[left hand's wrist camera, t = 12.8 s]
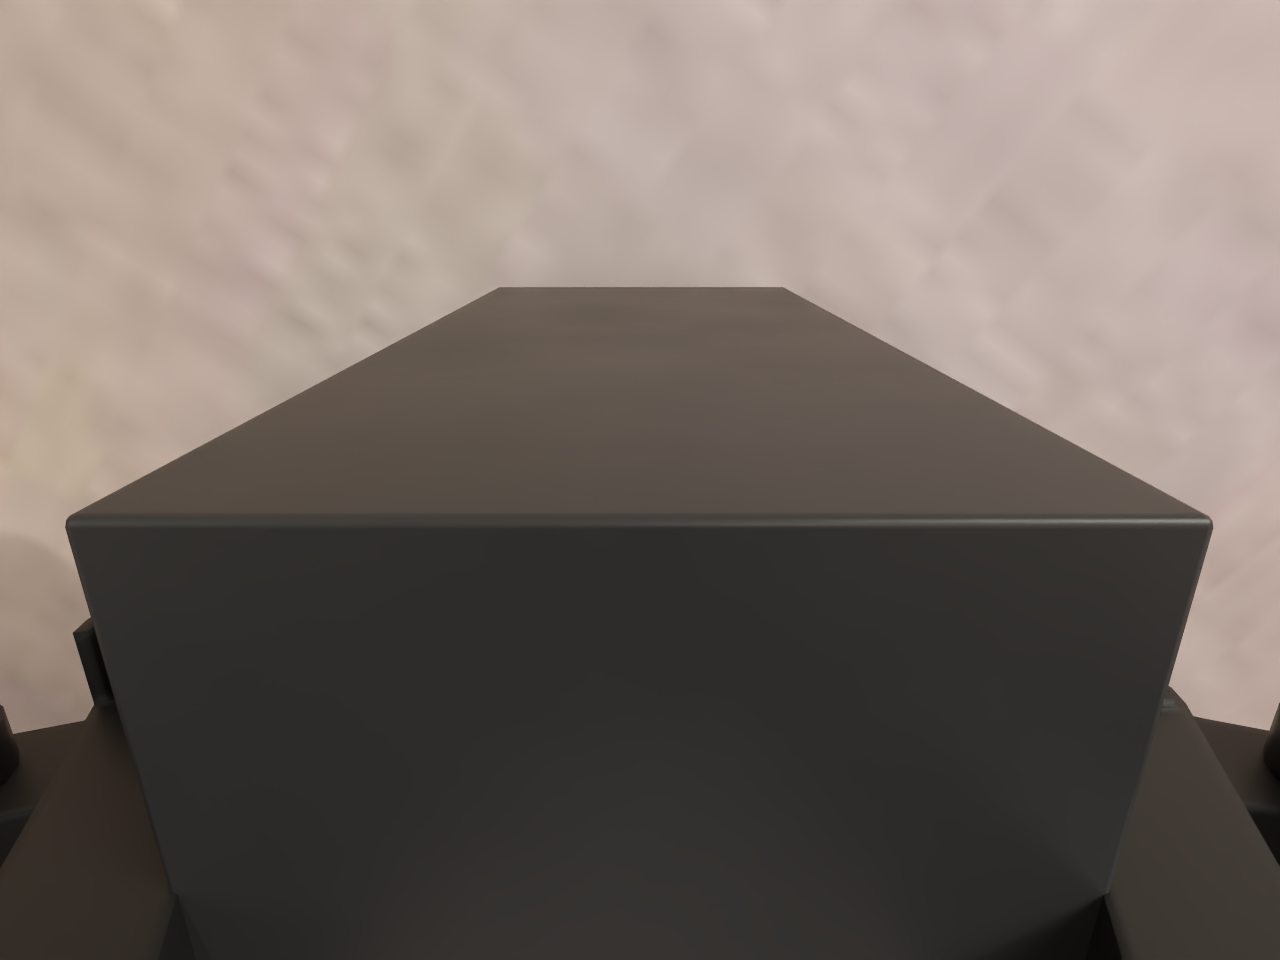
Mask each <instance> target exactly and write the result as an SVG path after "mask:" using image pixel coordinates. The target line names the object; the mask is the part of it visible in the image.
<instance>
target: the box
mask: <svg viewBox="0 0 1280 960" xmlns="http://www.w3.org/2000/svg"><path fill="white" fill-rule="evenodd" d="M65 528H66V532H67V535H68V538H69V542H70V545H71V549H72V552H73V556H74V559H75V563H76V566H77V570H78V573H79V577H80V580H81V584H82V587H83V591H84V594H85V598H86V601H87V605H88V608H89V612H90V615H91V619H92V622H93V626H94V629H95V633H96V636H97V639H98V643H99V646H100V650H101V653H102V657H103V660H104V664H105V667H106V671H107V674H108V678H109V681H110V685H111V688H112V692H113V695H114V699H115V702H116V706H117V709H118V713H119V716H120V720H121V723H122V727H123V730H124V733H125V737H126V740H127V744H128V747H129V751H130V754H131V758H132V761H133V765H134V768H135V772H136V775H137V779H138V782H139V786H140V789H141V793H142V796H143V800H144V803H145V807H146V810H147V814H148V817H149V821H150V824H151V827H152V831H153V834H154V838H155V841H156V845H157V848H158V852H159V855H160V859H161V862H162V866H163V869H164V873H165V876H166V880H167V883H168V887H169V890H170V892H172V893H175V894H178V897H179V901H180V904H181V908H182V911H183V915H184V919H185V922H186V926H187V929H188V933H189V936H190V940H191V943H192V947H193V950H194V954H195V957H196V960H1085V958H1086V954H1087V951H1088V947H1089V944H1090V940H1091V937H1092V933H1093V930H1094V926H1095V923H1096V919H1097V916H1098V912H1099V909H1100V905H1101V902H1102V898H1103V895H1105V894H1107V893H1109V892H1110V888H1111V884H1112V881H1113V877H1114V874H1115V870H1116V867H1117V863H1118V860H1119V856H1120V853H1121V849H1122V846H1123V842H1124V839H1125V835H1126V832H1127V828H1128V825H1129V821H1130V818H1131V814H1132V811H1133V807H1134V804H1135V800H1136V797H1137V793H1138V790H1139V786H1140V783H1141V779H1142V776H1143V772H1144V769H1145V765H1146V762H1147V758H1148V755H1149V751H1150V748H1151V744H1152V741H1153V737H1154V734H1155V730H1156V727H1157V723H1158V720H1159V716H1160V713H1161V709H1162V706H1163V702H1164V699H1165V695H1166V692H1167V688H1168V685H1169V681H1170V678H1171V674H1172V671H1173V667H1174V664H1175V660H1176V657H1177V653H1178V650H1179V646H1180V643H1181V639H1182V636H1183V632H1184V629H1185V625H1186V622H1187V618H1188V615H1189V611H1190V608H1191V604H1192V601H1193V597H1194V594H1195V590H1196V587H1197V583H1198V579H1199V576H1200V572H1201V569H1202V565H1203V562H1204V558H1205V555H1206V551H1207V548H1208V544H1209V541H1210V537H1211V534H1212V530H1213V523H1212V520H1211V519H1210V517H1209V516H1207V515H1205V514H1203V513H1202V512H1200V511H1198V510H1196V509H1194V508H1192V507H1190V506H1189V505H1187V504H1185V503H1183V502H1181V501H1179V500H1177V499H1176V498H1174V497H1172V496H1170V495H1168V494H1166V493H1164V492H1163V491H1161V490H1159V489H1157V488H1155V487H1153V486H1151V485H1149V484H1148V483H1146V482H1144V481H1142V480H1140V479H1138V478H1136V477H1135V476H1133V475H1131V474H1129V473H1127V472H1125V471H1123V470H1122V469H1120V468H1118V467H1116V466H1114V465H1112V464H1110V463H1109V462H1107V461H1105V460H1103V459H1101V458H1099V457H1097V456H1096V455H1094V454H1092V453H1090V452H1088V451H1086V450H1084V449H1083V448H1081V447H1079V446H1077V445H1075V444H1073V443H1071V442H1070V441H1068V440H1066V439H1064V438H1062V437H1060V436H1058V435H1057V434H1055V433H1053V432H1051V431H1049V430H1047V429H1045V428H1044V427H1042V426H1040V425H1038V424H1036V423H1034V422H1032V421H1031V420H1029V419H1027V418H1025V417H1023V416H1021V415H1019V414H1018V413H1016V412H1014V411H1012V410H1010V409H1008V408H1006V407H1005V406H1003V405H1001V404H999V403H997V402H995V401H993V400H992V399H990V398H988V397H986V396H984V395H982V394H980V393H978V392H977V391H975V390H973V389H971V388H969V387H967V386H965V385H964V384H962V383H960V382H958V381H956V380H954V379H952V378H951V377H949V376H947V375H945V374H943V373H941V372H939V371H938V370H936V369H934V368H932V367H930V366H928V365H926V364H925V363H923V362H921V361H919V360H917V359H915V358H913V357H912V356H910V355H908V354H906V353H904V352H902V351H900V350H899V349H897V348H895V347H893V346H891V345H889V344H887V343H886V342H884V341H882V340H880V339H878V338H876V337H874V336H873V335H871V334H869V333H867V332H865V331H863V330H861V329H860V328H858V327H856V326H854V325H852V324H850V323H848V322H847V321H845V320H843V319H841V318H839V317H837V316H835V315H834V314H832V313H830V312H828V311H826V310H824V309H822V308H820V307H819V306H817V305H815V304H813V303H811V302H809V301H807V300H806V299H804V298H802V297H800V296H798V295H796V294H794V293H793V292H791V291H789V290H787V289H785V288H783V287H500V288H497V289H496V290H494V291H492V292H490V293H488V294H486V295H484V296H482V297H480V298H479V299H477V300H475V301H473V302H471V303H469V304H467V305H465V306H464V307H462V308H460V309H458V310H456V311H454V312H452V313H450V314H448V315H447V316H445V317H443V318H441V319H439V320H437V321H435V322H433V323H432V324H430V325H428V326H426V327H424V328H422V329H420V330H418V331H417V332H415V333H413V334H411V335H409V336H407V337H405V338H403V339H401V340H400V341H398V342H396V343H394V344H392V345H390V346H388V347H386V348H385V349H383V350H381V351H379V352H377V353H375V354H373V355H371V356H369V357H368V358H366V359H364V360H362V361H360V362H358V363H356V364H354V365H353V366H351V367H349V368H347V369H345V370H343V371H341V372H339V373H337V374H336V375H334V376H332V377H330V378H328V379H326V380H324V381H322V382H321V383H319V384H317V385H315V386H313V387H311V388H309V389H307V390H306V391H304V392H302V393H300V394H298V395H296V396H294V397H292V398H290V399H289V400H287V401H285V402H283V403H281V404H279V405H277V406H275V407H274V408H272V409H270V410H268V411H266V412H264V413H262V414H260V415H258V416H257V417H255V418H253V419H251V420H249V421H247V422H245V423H243V424H242V425H240V426H238V427H236V428H234V429H232V430H230V431H228V432H226V433H225V434H223V435H221V436H219V437H217V438H215V439H213V440H211V441H210V442H208V443H206V444H204V445H202V446H200V447H198V448H196V449H195V450H193V451H191V452H189V453H187V454H185V455H183V456H181V457H179V458H178V459H176V460H174V461H172V462H170V463H168V464H166V465H164V466H163V467H161V468H159V469H157V470H155V471H153V472H151V473H149V474H147V475H146V476H144V477H142V478H140V479H138V480H136V481H134V482H132V483H131V484H129V485H127V486H125V487H123V488H121V489H119V490H117V491H115V492H114V493H112V494H110V495H108V496H106V497H104V498H102V499H100V500H99V501H97V502H95V503H93V504H91V505H89V506H87V507H85V508H84V509H82V510H80V511H78V512H76V513H74V514H72V515H70V516H69V517H68V519H67V520H66V527H65Z"/></svg>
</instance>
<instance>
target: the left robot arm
mask: <svg viewBox="0 0 1280 960" xmlns="http://www.w3.org/2000/svg"><path fill="white" fill-rule="evenodd" d="M73 635H74V638H75V642H76V645H77V648H78V652H79V655H80V658H81V662H82V665H83V668H84V671H85V675H86V678H87V681H88V685H89V688H90V691H91V694H92V698H93V701H94V704H95V705H94V706H93V708H92V710H91V711H90V713H89V715H88V717H87V718H86V720H85V721H80V722H75V723H70V724H65V725H59V726H54V727H49V728H43V729H38V730H33V731H27V732H22V733H17V734H13V733H12V730H11V727H10V725H9V722H8V719H7V716H6V713H5V711H4V708H3V706H2V705H0V960H196V957H195V954H194V950H193V947H192V943H191V940H190V936H189V933H188V929H187V926H186V922H185V919H184V915H183V911H182V908H181V904H180V901H179V897H178V894H175V893H172V892H170V890H169V887H168V883H167V880H166V876H165V873H164V869H163V866H162V862H161V859H160V855H159V852H158V848H157V845H156V841H155V838H154V834H153V831H152V827H151V824H150V821H149V817H148V814H147V810H146V807H145V803H144V800H143V796H142V793H141V789H140V786H139V782H138V779H137V775H136V772H135V768H134V765H133V761H132V758H131V754H130V751H129V747H128V744H127V740H126V737H125V733H124V730H123V727H122V723H121V720H120V716H119V713H118V709H117V706H116V702H115V699H114V695H113V692H112V688H111V685H110V681H109V678H108V674H107V671H106V667H105V664H104V660H103V657H102V653H101V650H100V646H99V643H98V639H97V636H96V633H95V629H94V626H93V622H92V619H91V618H89V619H88V620H87V621H85V622H84V623H83V624H82V625H81V626H80V627H79V628H78V629H77V630H75V631H74V632H73ZM1085 960H1280V703H1279V706H1278V709H1277V711H1276V714H1275V717H1274V720H1273V723H1272V725H1271V728H1270V731H1267V730H1262V729H1256V728H1251V727H1246V726H1240V725H1235V724H1230V723H1224V722H1219V721H1214V720H1208V719H1203V718H1199V717H1194V716H1193V715H1192V714H1191V712H1190V710H1189V708H1188V707H1187V705H1186V703H1185V702H1184V701H1183V700H1182V699H1181V698H1180V697H1179V696H1178V694H1177V693H1176V692H1175V691H1174V690H1173V689H1172V688H1171V687H1169V686H1168V688H1167V692H1166V695H1165V699H1164V702H1163V706H1162V709H1161V713H1160V716H1159V720H1158V723H1157V727H1156V730H1155V734H1154V737H1153V741H1152V744H1151V748H1150V751H1149V755H1148V758H1147V762H1146V765H1145V769H1144V772H1143V776H1142V779H1141V783H1140V786H1139V790H1138V793H1137V797H1136V800H1135V804H1134V807H1133V811H1132V814H1131V818H1130V821H1129V825H1128V828H1127V832H1126V835H1125V839H1124V842H1123V846H1122V849H1121V853H1120V856H1119V860H1118V863H1117V867H1116V870H1115V874H1114V877H1113V881H1112V884H1111V888H1110V892H1109V893H1107V894H1105V895H1103V898H1102V902H1101V905H1100V909H1099V912H1098V916H1097V919H1096V923H1095V926H1094V930H1093V933H1092V937H1091V940H1090V944H1089V947H1088V951H1087V954H1086V958H1085Z"/></svg>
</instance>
